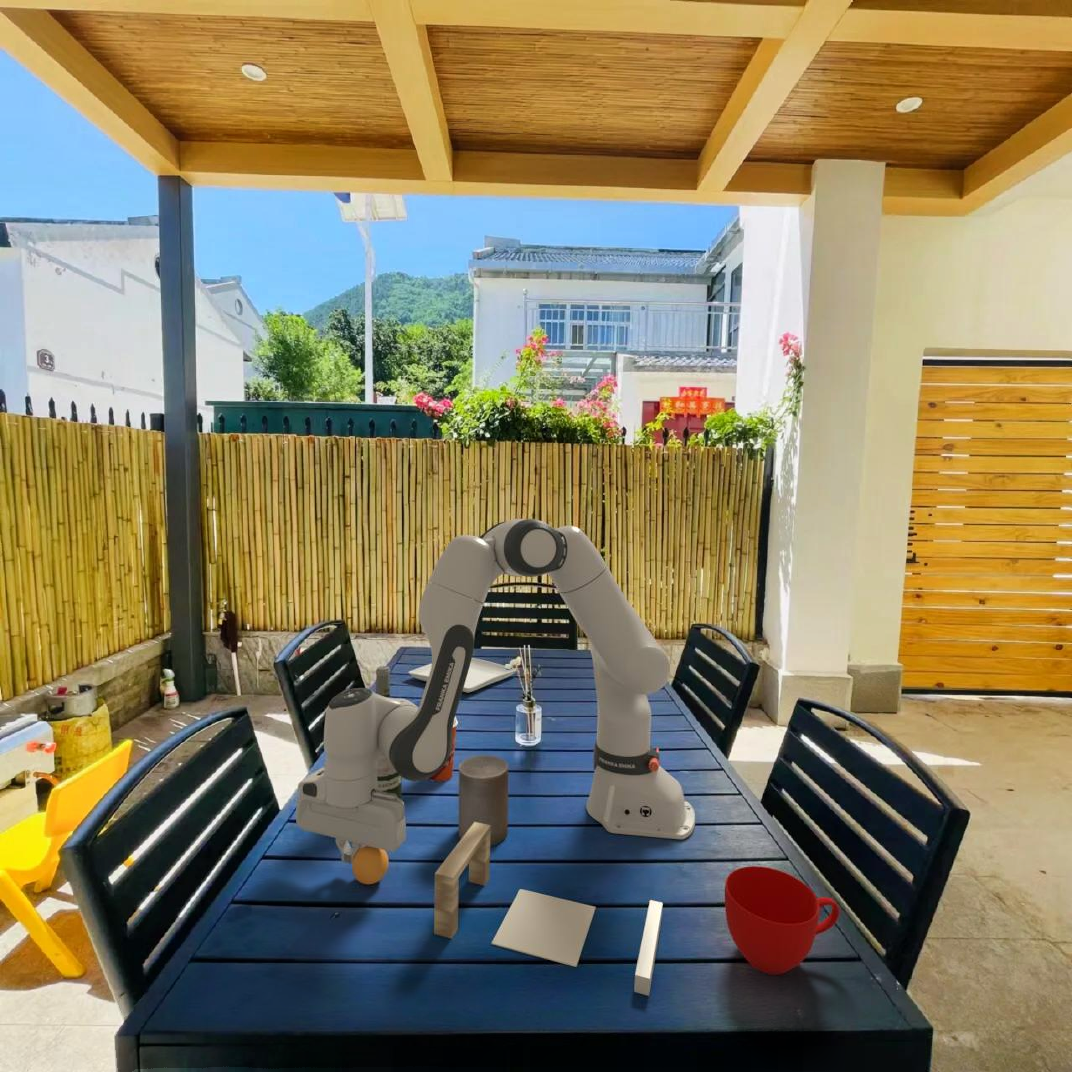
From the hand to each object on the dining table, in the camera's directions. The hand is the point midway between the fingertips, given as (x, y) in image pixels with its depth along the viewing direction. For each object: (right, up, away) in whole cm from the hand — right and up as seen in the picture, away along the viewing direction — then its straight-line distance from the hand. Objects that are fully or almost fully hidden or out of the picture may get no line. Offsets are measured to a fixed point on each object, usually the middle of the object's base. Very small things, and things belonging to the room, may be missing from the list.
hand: (350, 861), depth 107 cm
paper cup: (+10, +1, +36) cm, 38 cm away
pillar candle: (+22, -2, +14) cm, 26 cm away
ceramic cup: (+68, -6, -16) cm, 70 cm away
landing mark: (+34, -4, -11) cm, 36 cm away
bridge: (+20, -4, -7) cm, 22 cm away
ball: (+4, 0, -2) cm, 4 cm away
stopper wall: (+49, -5, -16) cm, 52 cm away
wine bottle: (0, -1, +22) cm, 22 cm away
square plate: (+7, +7, +106) cm, 107 cm away
